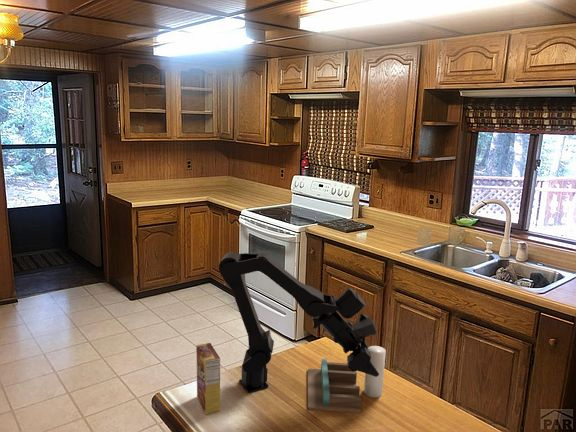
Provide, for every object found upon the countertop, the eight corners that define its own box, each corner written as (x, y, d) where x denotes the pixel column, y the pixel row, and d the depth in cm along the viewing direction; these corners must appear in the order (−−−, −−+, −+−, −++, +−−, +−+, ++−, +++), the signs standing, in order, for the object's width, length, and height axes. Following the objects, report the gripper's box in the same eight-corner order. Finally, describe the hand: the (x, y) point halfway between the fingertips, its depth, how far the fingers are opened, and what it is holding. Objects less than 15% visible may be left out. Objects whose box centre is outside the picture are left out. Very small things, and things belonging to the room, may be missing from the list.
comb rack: (361, 412, 123) (362, 396, 122) (307, 409, 123) (308, 393, 122) (353, 373, 142) (354, 359, 141) (307, 370, 143) (308, 356, 142)
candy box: (195, 396, 126) (195, 344, 123) (210, 393, 128) (211, 341, 125) (203, 415, 118) (204, 360, 115) (220, 411, 120) (221, 357, 117)
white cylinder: (371, 399, 129) (375, 355, 127) (360, 390, 133) (363, 348, 131) (385, 394, 132) (389, 352, 129) (373, 386, 136) (377, 344, 133)
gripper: (364, 323, 119) (404, 366, 120) (356, 297, 137) (391, 334, 139) (331, 350, 120) (371, 392, 122) (328, 321, 139) (363, 357, 141)
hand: (375, 367), depth 131 cm, fingers open, 9 cm apart
